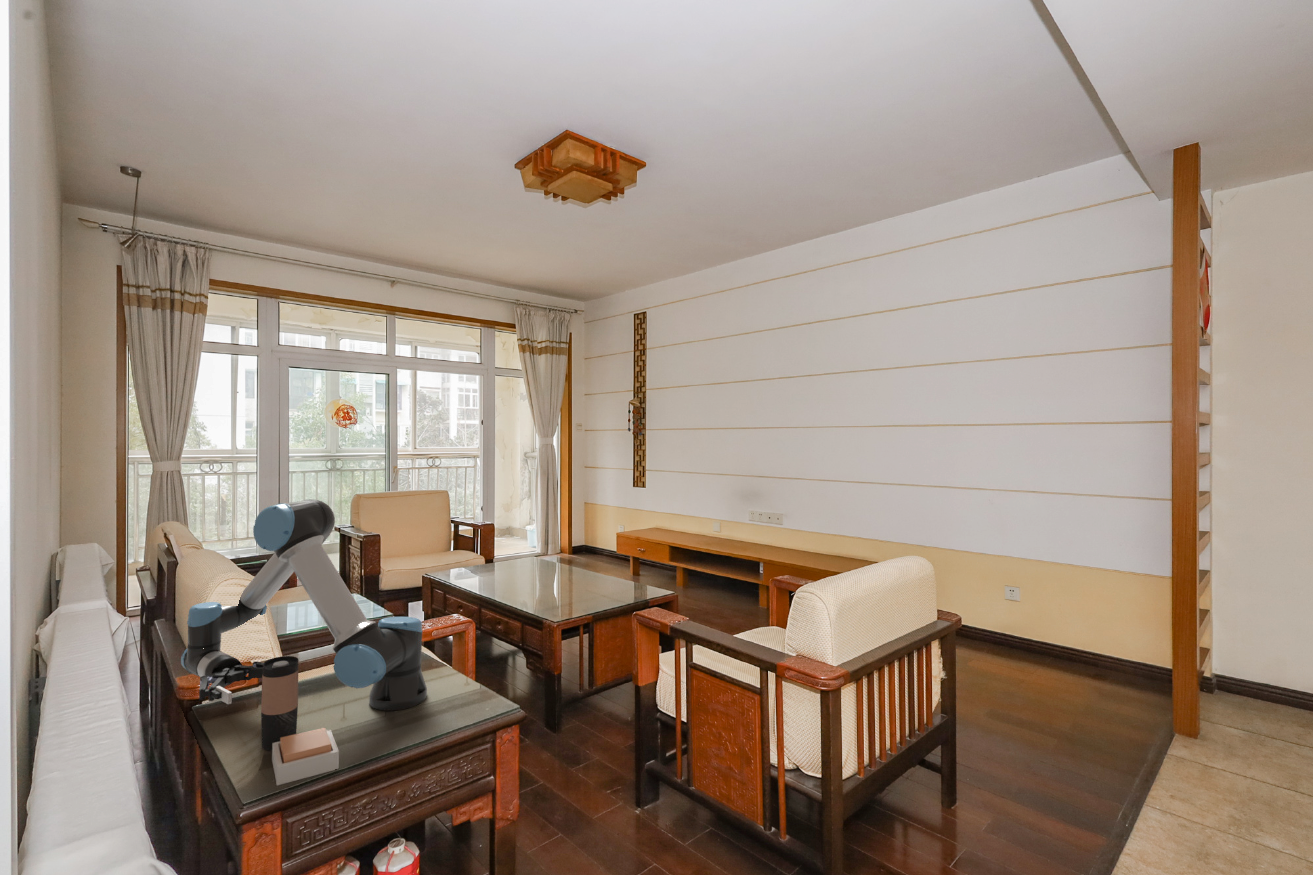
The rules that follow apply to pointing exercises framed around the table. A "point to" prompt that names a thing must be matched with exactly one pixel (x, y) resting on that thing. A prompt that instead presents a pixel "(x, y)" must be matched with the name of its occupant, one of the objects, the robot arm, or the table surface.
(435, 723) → the table surface
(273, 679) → the travel mug
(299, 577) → the robot arm
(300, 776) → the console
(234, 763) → the table surface
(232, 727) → the table surface
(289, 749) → the pink flat block
